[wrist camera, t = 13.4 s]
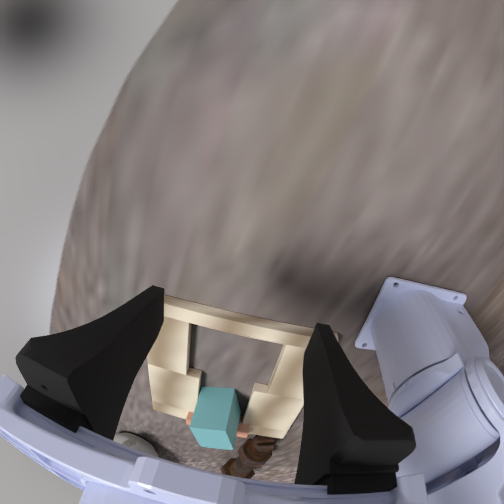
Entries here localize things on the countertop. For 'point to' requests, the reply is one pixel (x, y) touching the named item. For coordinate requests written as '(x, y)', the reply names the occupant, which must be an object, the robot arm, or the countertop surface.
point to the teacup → (135, 443)
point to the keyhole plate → (189, 379)
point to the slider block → (216, 418)
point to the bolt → (250, 457)
